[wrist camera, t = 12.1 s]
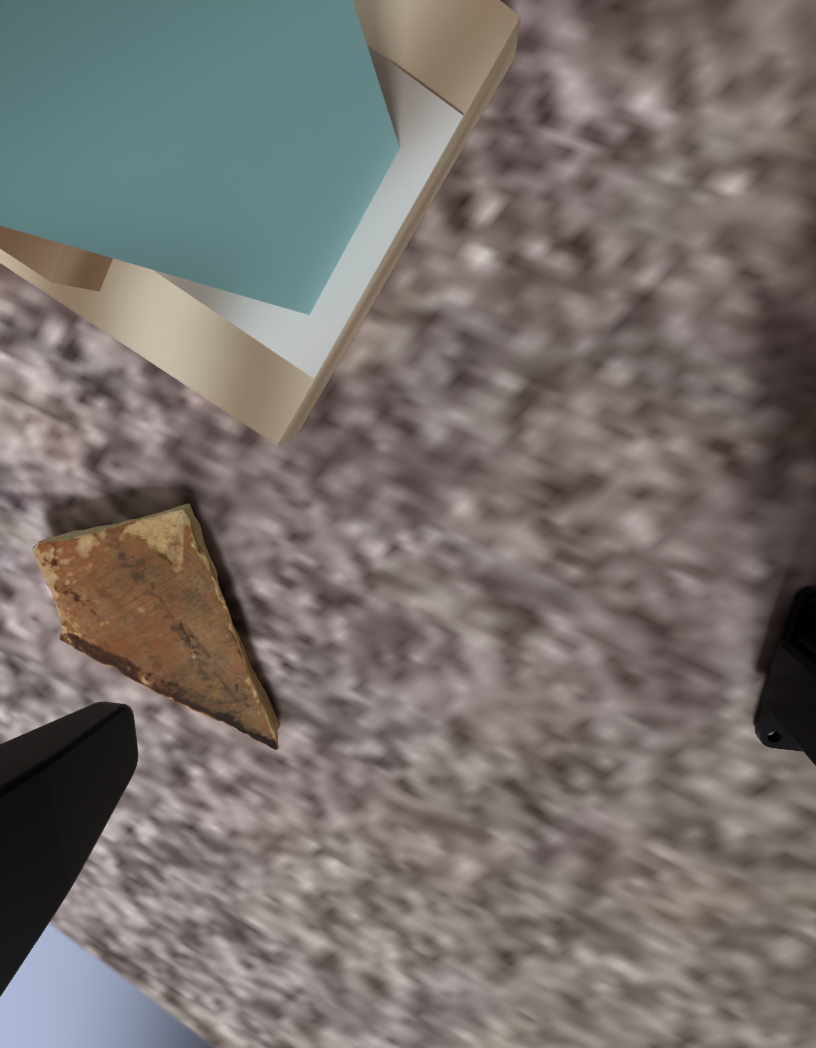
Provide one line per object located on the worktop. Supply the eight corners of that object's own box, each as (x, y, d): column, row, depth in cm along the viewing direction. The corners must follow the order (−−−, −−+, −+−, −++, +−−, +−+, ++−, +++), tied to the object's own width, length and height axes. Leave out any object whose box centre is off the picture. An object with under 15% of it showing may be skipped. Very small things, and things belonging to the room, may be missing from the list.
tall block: (399, 148, 14) (-27, -1201, 2) (309, 315, 16) (-257, 150, 3) (241, 33, 14) (-1536, -2546, 2) (164, 215, 15) (-1052, -367, 3)
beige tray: (513, 59, 15) (529, -42, 11) (296, 437, 19) (253, 455, 15) (-191, -472, 14) (-448, -798, 10) (-271, 61, 17) (-477, -22, 14)
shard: (289, 727, 24) (276, 756, 22) (138, 750, 25) (114, 779, 23) (206, 495, 21) (182, 507, 19) (40, 535, 22) (4, 549, 20)
